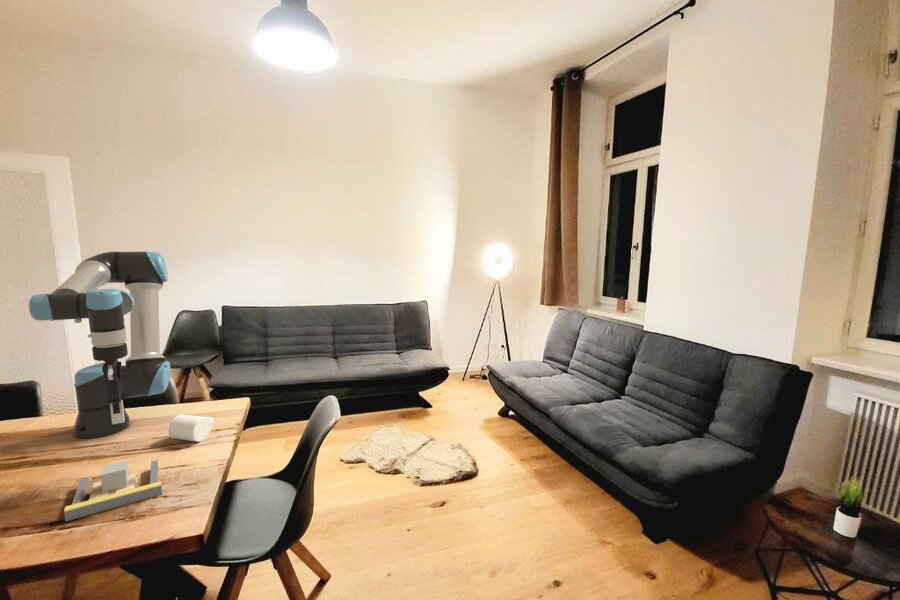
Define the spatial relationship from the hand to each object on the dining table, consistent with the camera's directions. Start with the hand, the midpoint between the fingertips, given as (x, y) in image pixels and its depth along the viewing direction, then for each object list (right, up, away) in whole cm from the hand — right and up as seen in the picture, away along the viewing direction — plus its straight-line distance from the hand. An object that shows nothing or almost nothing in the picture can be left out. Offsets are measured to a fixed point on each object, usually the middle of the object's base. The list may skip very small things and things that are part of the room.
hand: (118, 422), depth 117 cm
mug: (+8, -12, +23) cm, 27 cm away
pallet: (+7, -17, -10) cm, 21 cm away
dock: (+7, -16, -8) cm, 19 cm away
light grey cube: (+7, -14, -10) cm, 18 cm away
